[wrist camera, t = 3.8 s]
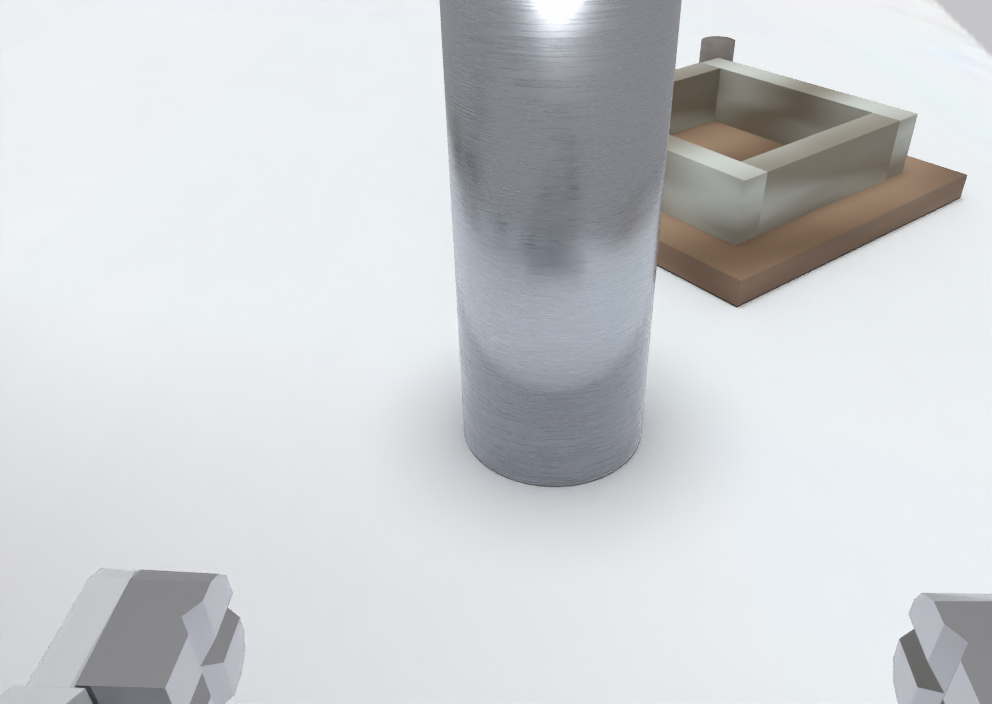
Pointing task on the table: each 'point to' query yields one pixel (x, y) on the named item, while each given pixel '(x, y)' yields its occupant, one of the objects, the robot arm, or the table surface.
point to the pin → (556, 223)
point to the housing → (781, 176)
